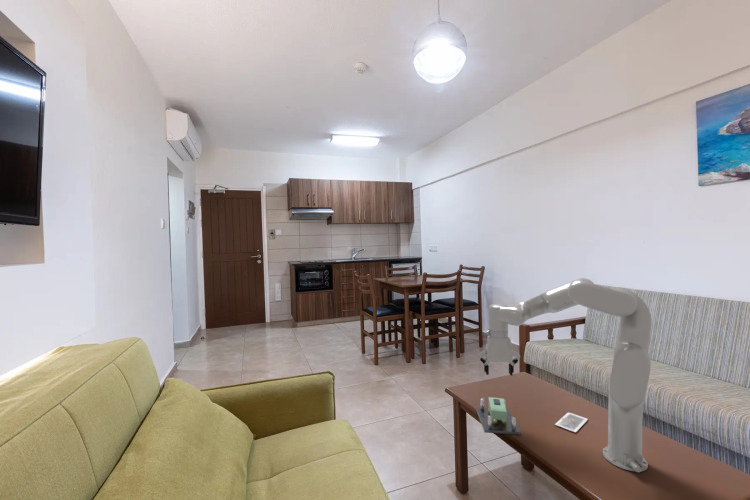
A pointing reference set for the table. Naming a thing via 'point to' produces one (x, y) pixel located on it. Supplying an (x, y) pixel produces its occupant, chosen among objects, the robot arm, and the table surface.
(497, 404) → the green block
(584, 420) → the touchpad
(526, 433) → the table surface
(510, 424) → the chassis
